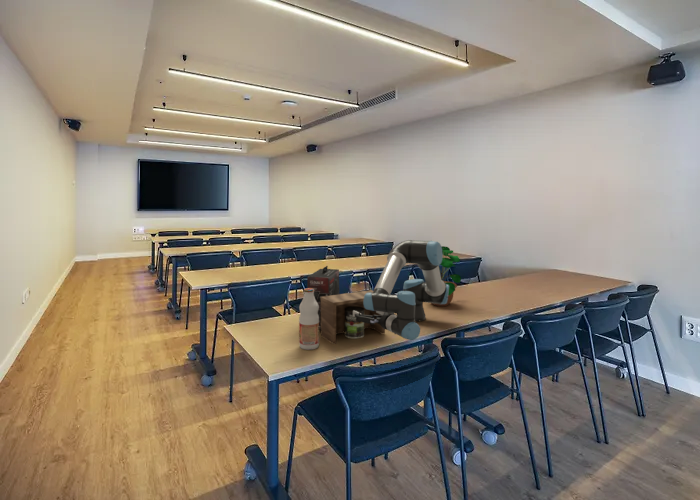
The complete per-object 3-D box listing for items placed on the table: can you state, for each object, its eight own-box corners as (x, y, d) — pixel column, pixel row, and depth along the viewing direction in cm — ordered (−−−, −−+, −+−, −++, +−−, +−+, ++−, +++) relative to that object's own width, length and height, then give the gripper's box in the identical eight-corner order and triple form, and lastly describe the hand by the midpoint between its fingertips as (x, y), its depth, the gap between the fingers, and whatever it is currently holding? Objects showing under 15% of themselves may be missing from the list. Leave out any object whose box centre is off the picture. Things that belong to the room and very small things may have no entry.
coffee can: (361, 339, 194) (361, 312, 192) (341, 337, 197) (341, 310, 195) (366, 333, 204) (366, 307, 202) (347, 331, 207) (348, 305, 205)
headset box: (329, 331, 205) (329, 270, 201) (306, 330, 208) (306, 269, 204) (340, 318, 229) (340, 263, 225) (319, 317, 231) (319, 262, 227)
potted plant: (434, 312, 243) (436, 250, 239) (415, 301, 271) (417, 245, 266) (477, 309, 251) (480, 249, 246) (455, 298, 279) (457, 244, 274)
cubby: (370, 326, 215) (371, 290, 212) (384, 333, 203) (385, 295, 201) (320, 335, 199) (320, 296, 197) (333, 343, 188) (333, 302, 185)
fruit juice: (308, 351, 177) (308, 292, 174) (295, 346, 184) (294, 289, 180) (323, 346, 184) (323, 288, 181) (310, 341, 191) (309, 285, 187)
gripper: (368, 335, 165) (343, 322, 183) (413, 326, 177) (385, 315, 195) (368, 318, 164) (343, 307, 182) (413, 310, 177) (386, 301, 195)
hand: (365, 311), depth 189 cm, fingers open, 13 cm apart
